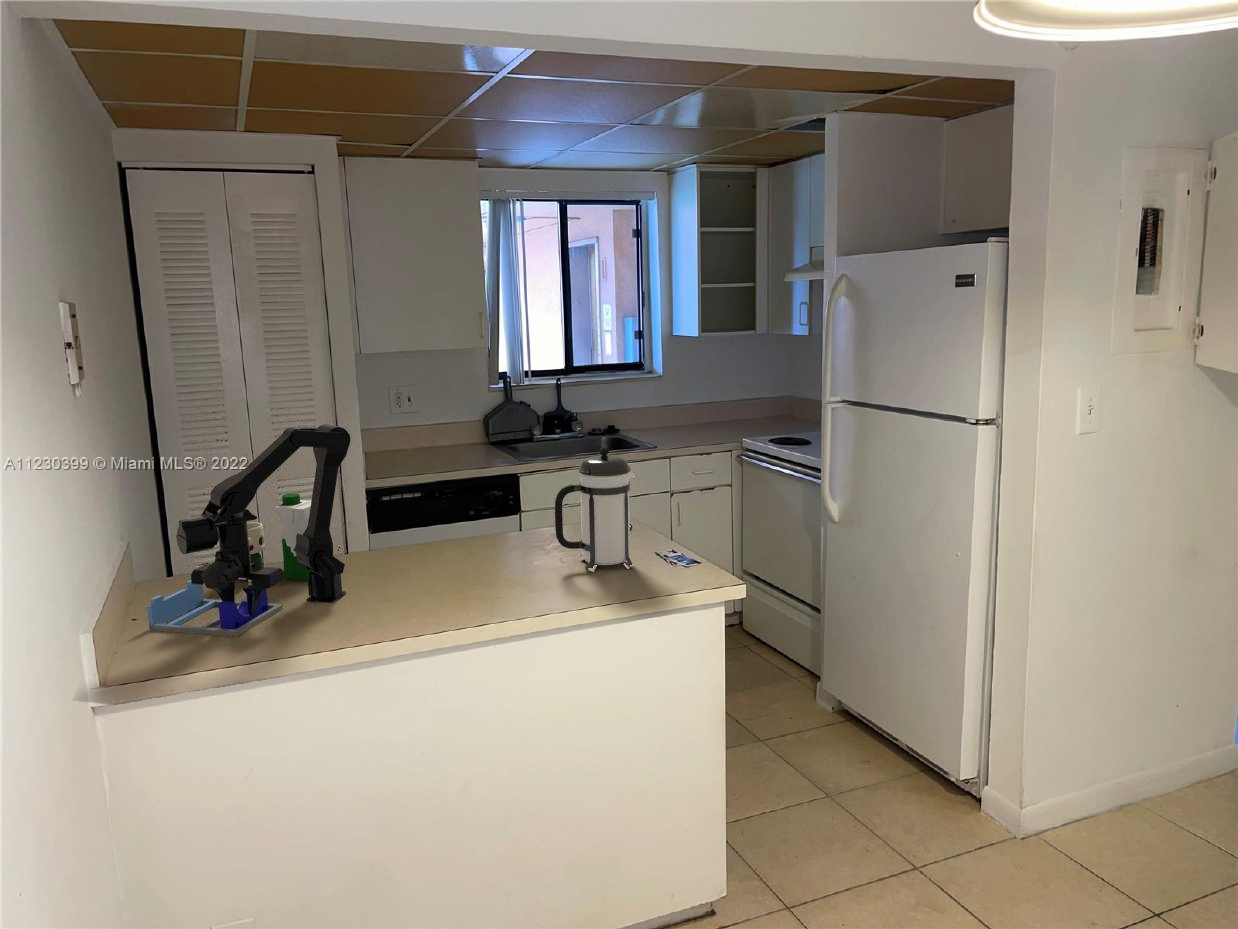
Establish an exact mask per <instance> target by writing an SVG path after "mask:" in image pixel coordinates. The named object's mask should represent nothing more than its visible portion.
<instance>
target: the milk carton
mask: <svg viewBox="0 0 1238 929" xmlns="http://www.w3.org/2000/svg"><path fill="white" fill-rule="evenodd" d="M281 497H282V499H281V500H282V501H281V502H282V503H281V504H278V505H277V506H275V511H276V515H277V517H278V520H279V524H280V526H279V527H280V535H281V546H282V555H283V556H282V559H283V571H284V577H285V579H289V578H292V580H300V581H307V579H308V578H309V572H311V571H309V570H306V568H305V566H304V565H303V564H302V563H300V562H299V561H298V559H297V558H296V552H295V551H293V550H294V548H295V545H296V535H297V534H303V533H304V531H305V530H306V528H307V526H308V520H309V514H310V507H311V500H312V499H311V500H310V499H309V500H308V499H307V500H305V499H301V496H300V494H299V493H286V494H283V495H282V496H281Z"/></svg>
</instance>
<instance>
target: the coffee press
mask: <svg viewBox="0 0 1238 929" xmlns="http://www.w3.org/2000/svg"><path fill="white" fill-rule="evenodd" d="M609 452H610V451H609V449H608V447H606V446H603V447H600V450H599V454H600V455H594V456H590V457H587V458H585V459H584V460H583V461H582V462H581V463H580V466H579V467H578V473H579V477H580V478H579V480H580V481H579V483H578V484H569V485H565V486H564V487H562V488H560V489H559V491H558V492H557V494H556V497H555V501H554V525H555V526H554V527H555V529H554V531H555V538H556V540H557V542H558V543H559V544H560V545H561V547H563V548H566V549H571V550H576V549H578V550H579V549H581V555H580V556H579V558H580V557H581V556H583V558H584V560H585V561H584V562H586V563H588V566H587V569H588V568H593V566H594V565H597V567H599V566H612V565H618V564H619V565H623V564H624V563H627V565H628V566H630V565H632V564H633V562H632V561H631V559H630V554H631V550H630V549H631V541H630V540H631V537H630V536H631V534H630V532H631V530H630V528H631V527H630V523H631V522H630V521H631V520H630V491H631V482H630V479H631V478H636V475H635V473H634V472H633V471H632V470H631V466H630V465H629V463H628V462H627V460H626V459H624V458H623V457H620V456H616V455H608V454H609ZM574 492H575V493H576V492H580V519H581V520H580V522H581V523H580V525H581V526H580V527H581V528H580V529H581V538H580V540H578V541H569V540H568V539H566V538H565V537H564V523H563V518H564V517H563V502H564V499H565V497H566V496H567V495H568V494H571V493H574ZM626 561H627V562H626ZM598 565H599V566H598Z"/></svg>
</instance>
